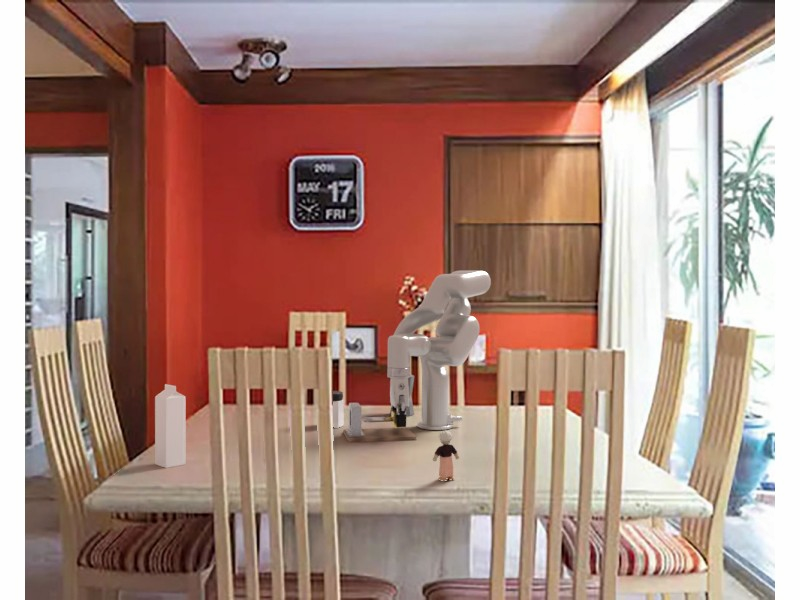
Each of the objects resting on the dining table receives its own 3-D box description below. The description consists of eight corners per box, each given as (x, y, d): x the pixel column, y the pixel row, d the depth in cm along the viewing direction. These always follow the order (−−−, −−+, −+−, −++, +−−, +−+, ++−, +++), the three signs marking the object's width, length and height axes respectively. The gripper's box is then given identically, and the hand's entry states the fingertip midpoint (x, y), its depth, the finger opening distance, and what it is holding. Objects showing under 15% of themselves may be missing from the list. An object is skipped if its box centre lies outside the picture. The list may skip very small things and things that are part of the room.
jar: (347, 426, 256) (348, 392, 256) (328, 429, 251) (328, 394, 251) (333, 423, 263) (333, 389, 263) (314, 425, 258) (314, 391, 258)
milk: (174, 460, 206) (175, 382, 206) (185, 464, 202) (186, 385, 201) (154, 464, 201) (154, 384, 201) (165, 468, 197) (166, 386, 197)
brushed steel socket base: (360, 430, 245) (360, 402, 245) (364, 436, 235) (364, 407, 235) (345, 431, 244) (345, 402, 244) (349, 437, 234) (349, 407, 234)
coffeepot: (390, 411, 288) (391, 365, 288) (414, 411, 288) (415, 366, 287) (388, 418, 273) (388, 370, 272) (413, 418, 272) (414, 370, 272)
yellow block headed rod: (402, 424, 245) (403, 410, 245) (405, 427, 240) (405, 412, 240) (362, 425, 242) (362, 411, 242) (364, 428, 238) (364, 413, 238)
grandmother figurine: (450, 476, 192) (450, 427, 191) (460, 479, 189) (461, 430, 189) (428, 481, 187) (429, 431, 186) (439, 484, 184) (439, 434, 183)
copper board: (407, 430, 251) (407, 427, 251) (416, 439, 236) (416, 436, 236) (343, 432, 246) (343, 429, 246) (348, 442, 232) (348, 438, 232)
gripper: (415, 375, 234) (414, 428, 235) (404, 369, 251) (404, 419, 252) (392, 376, 233) (391, 429, 233) (383, 369, 250) (382, 419, 250)
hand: (398, 424), depth 242 cm, fingers open, 9 cm apart
